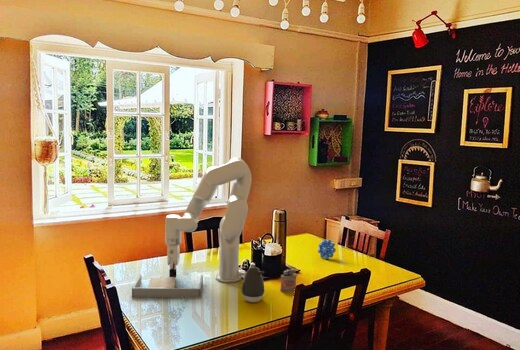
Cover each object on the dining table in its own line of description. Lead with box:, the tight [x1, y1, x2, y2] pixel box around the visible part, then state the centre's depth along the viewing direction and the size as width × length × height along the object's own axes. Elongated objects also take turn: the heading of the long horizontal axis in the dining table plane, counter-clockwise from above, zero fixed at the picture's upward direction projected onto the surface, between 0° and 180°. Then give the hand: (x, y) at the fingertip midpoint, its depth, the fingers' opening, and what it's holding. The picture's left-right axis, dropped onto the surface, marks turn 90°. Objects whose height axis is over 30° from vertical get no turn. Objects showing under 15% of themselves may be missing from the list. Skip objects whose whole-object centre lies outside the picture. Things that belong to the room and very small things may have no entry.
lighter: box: [279, 268, 298, 293], centre depth 203 cm, size 8×3×10 cm, turn 117°
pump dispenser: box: [240, 266, 266, 303], centre depth 191 cm, size 10×10×15 cm
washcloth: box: [147, 276, 176, 288], centre depth 201 cm, size 12×18×3 cm, turn 9°
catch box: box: [131, 274, 204, 299], centre depth 199 cm, size 30×16×4 cm, turn 93°
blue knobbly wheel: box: [317, 239, 337, 260], centre depth 249 cm, size 12×7×12 cm, turn 48°
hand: (172, 276), depth 212 cm, fingers closed
